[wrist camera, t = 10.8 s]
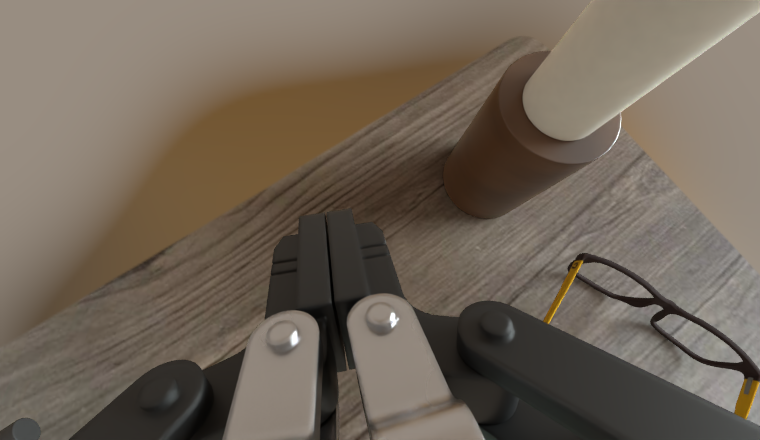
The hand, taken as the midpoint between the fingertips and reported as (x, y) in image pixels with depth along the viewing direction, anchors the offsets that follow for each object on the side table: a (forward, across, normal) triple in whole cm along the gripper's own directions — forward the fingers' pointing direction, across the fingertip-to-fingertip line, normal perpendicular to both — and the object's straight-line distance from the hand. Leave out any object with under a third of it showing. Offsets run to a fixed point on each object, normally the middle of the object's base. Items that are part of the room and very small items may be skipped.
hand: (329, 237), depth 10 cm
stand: (+16, -13, +8) cm, 22 cm away
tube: (+8, -13, 0) cm, 16 cm away
